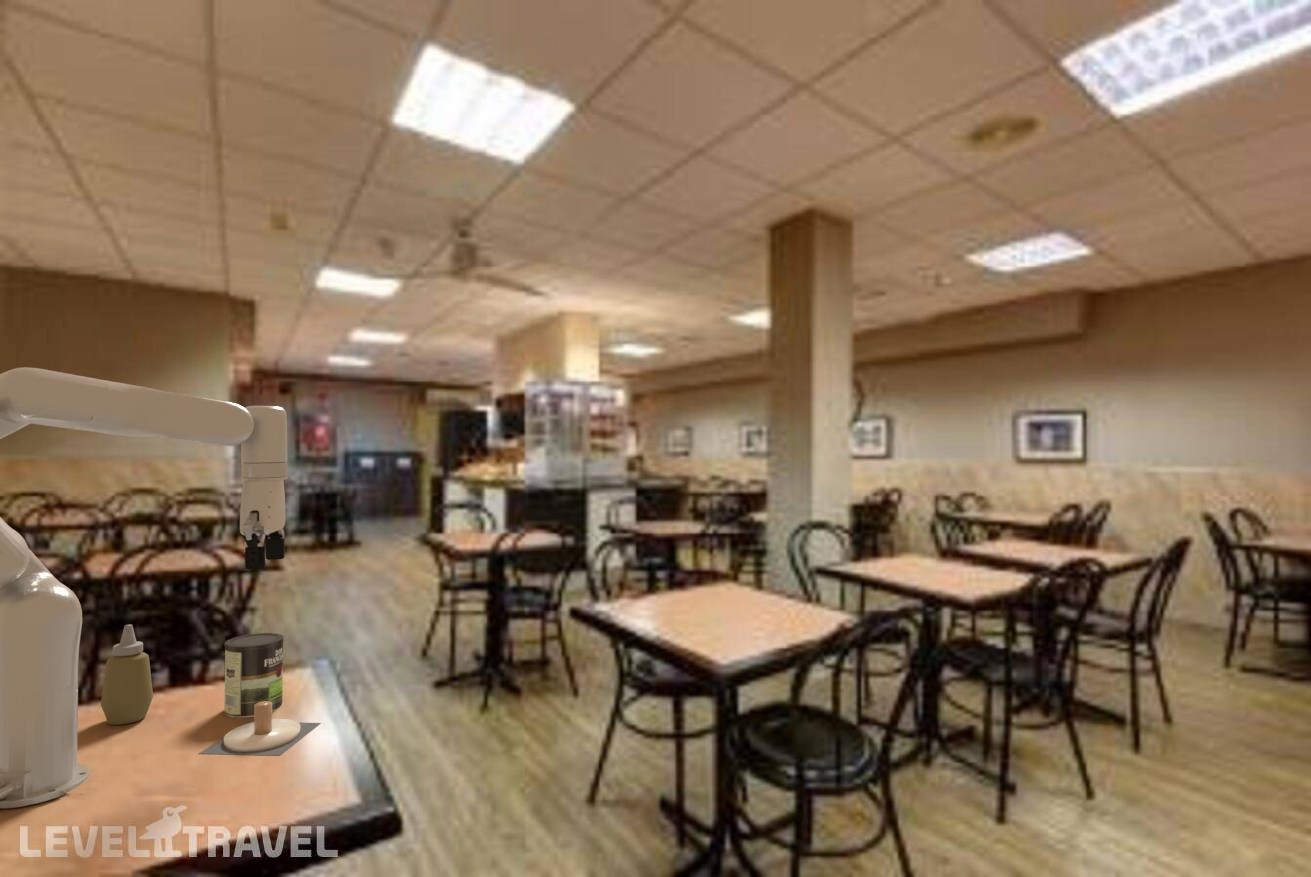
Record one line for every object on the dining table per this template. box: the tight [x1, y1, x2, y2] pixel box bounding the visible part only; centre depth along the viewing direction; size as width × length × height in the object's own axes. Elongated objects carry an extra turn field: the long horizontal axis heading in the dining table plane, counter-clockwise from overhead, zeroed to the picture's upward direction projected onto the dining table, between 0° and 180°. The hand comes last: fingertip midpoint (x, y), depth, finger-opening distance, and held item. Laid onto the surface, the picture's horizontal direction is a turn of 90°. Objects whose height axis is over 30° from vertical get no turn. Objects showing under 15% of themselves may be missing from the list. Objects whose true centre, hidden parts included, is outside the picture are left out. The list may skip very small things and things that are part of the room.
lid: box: [223, 701, 300, 752], centre depth 128 cm, size 12×12×6 cm
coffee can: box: [223, 632, 285, 718], centre depth 143 cm, size 10×10×14 cm
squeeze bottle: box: [100, 624, 154, 726], centre depth 137 cm, size 8×8×18 cm
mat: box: [198, 720, 322, 757], centre depth 128 cm, size 14×14×1 cm
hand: (265, 563), depth 134 cm, fingers open, 9 cm apart
